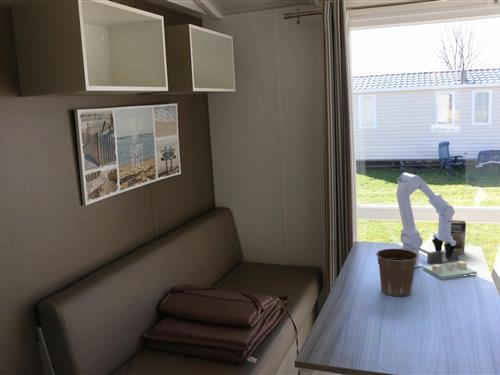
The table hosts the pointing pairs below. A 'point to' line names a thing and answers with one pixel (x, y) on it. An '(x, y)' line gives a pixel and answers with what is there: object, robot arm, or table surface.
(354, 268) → the table surface
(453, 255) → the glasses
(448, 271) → the stand
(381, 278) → the plant pot
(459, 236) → the coffee box
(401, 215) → the robot arm
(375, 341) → the table surface
